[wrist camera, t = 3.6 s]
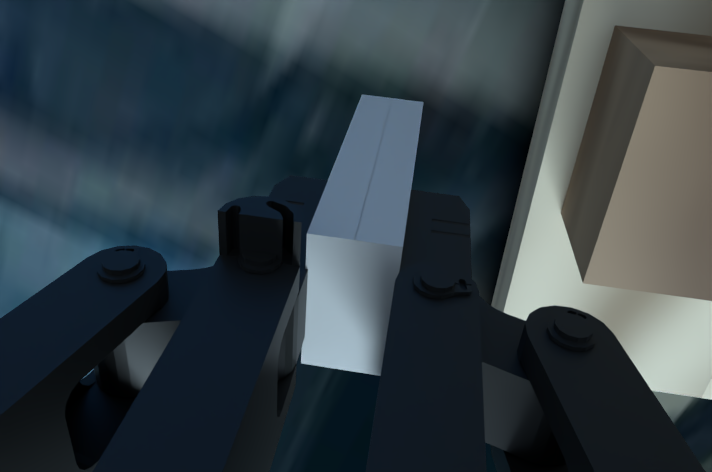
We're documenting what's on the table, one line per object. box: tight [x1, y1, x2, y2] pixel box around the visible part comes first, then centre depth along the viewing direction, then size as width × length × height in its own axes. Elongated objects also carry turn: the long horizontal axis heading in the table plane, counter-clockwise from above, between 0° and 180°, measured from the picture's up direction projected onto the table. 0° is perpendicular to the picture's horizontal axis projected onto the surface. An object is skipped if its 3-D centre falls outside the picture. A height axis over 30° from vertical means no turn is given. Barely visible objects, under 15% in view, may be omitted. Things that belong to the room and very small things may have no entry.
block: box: [561, 25, 712, 301], centre depth 17 cm, size 6×6×4 cm
